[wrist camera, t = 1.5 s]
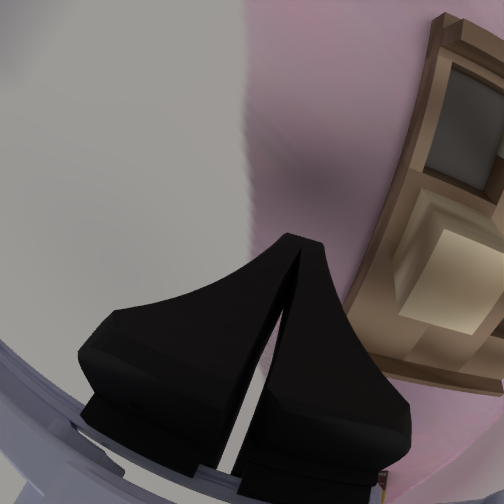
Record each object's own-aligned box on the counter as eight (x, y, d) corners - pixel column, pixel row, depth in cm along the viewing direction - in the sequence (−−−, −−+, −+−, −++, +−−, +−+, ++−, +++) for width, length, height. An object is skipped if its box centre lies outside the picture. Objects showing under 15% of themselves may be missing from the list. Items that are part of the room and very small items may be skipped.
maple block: (454, 280, 15) (471, 335, 11) (391, 259, 16) (398, 314, 12) (488, 216, 12) (521, 261, 9) (421, 187, 13) (443, 228, 10)
